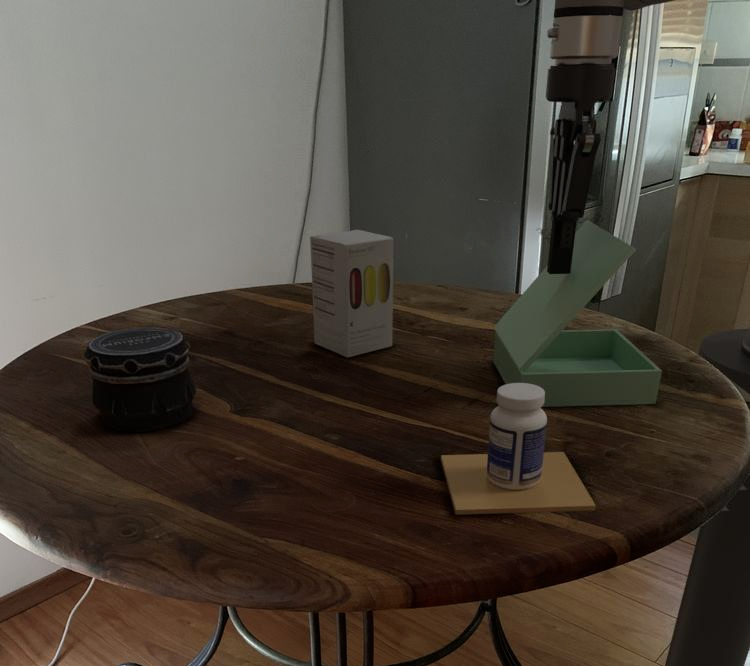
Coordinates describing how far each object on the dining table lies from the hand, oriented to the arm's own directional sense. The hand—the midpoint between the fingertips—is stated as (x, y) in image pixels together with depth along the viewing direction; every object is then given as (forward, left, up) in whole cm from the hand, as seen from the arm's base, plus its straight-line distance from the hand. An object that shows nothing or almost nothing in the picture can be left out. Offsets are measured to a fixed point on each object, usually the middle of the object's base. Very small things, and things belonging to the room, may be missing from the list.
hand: (558, 272), depth 96 cm
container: (+54, +8, -15) cm, 56 cm away
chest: (-3, 0, -15) cm, 15 cm away
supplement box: (+27, -18, -15) cm, 36 cm away
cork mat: (+11, +29, -15) cm, 34 cm away
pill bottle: (+11, +29, -15) cm, 34 cm away
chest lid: (0, 0, -3) cm, 3 cm away
